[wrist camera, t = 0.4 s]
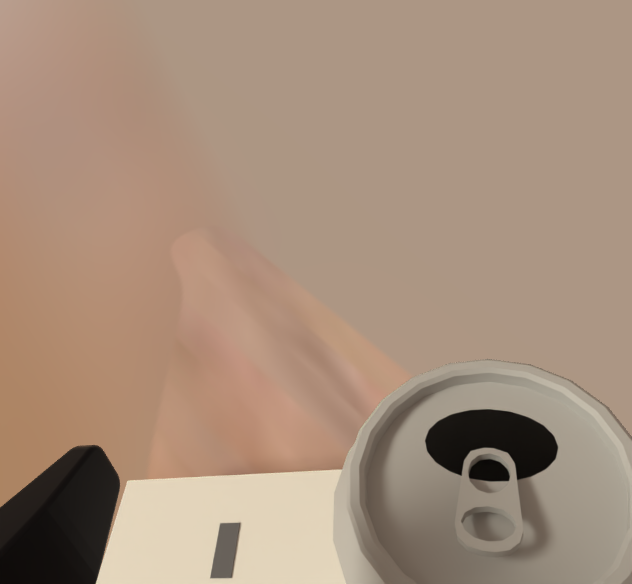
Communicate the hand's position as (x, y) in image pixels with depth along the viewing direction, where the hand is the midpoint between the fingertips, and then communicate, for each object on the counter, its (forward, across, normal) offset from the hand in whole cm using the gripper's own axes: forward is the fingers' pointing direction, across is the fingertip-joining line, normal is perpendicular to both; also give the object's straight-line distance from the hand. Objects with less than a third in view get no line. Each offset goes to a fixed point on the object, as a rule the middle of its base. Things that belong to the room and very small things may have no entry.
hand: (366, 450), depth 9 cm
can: (+5, -2, +16) cm, 16 cm away
